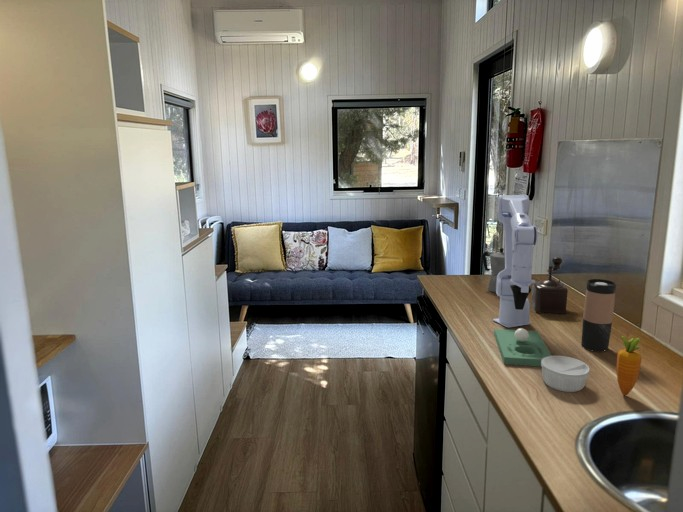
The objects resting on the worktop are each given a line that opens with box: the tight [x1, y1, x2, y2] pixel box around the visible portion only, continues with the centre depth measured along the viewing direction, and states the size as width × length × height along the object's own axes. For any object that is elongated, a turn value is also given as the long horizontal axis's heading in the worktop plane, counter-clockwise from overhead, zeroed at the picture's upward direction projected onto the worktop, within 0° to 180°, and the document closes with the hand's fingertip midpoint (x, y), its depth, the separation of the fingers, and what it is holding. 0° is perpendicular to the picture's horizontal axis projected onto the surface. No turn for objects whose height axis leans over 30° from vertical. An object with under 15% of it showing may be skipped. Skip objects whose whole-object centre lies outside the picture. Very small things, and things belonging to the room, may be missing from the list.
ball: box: [514, 327, 529, 342], centre depth 146 cm, size 4×4×4 cm
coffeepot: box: [481, 247, 505, 294], centre depth 204 cm, size 15×9×18 cm, turn 44°
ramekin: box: [540, 355, 591, 393], centre depth 124 cm, size 11×11×5 cm
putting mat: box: [493, 328, 553, 367], centre depth 145 cm, size 22×13×2 cm, turn 170°
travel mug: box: [581, 278, 617, 352], centre depth 144 cm, size 8×8×20 cm
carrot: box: [615, 335, 642, 396], centre depth 116 cm, size 5×5×15 cm
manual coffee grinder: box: [530, 256, 569, 315], centre depth 181 cm, size 16×11×18 cm
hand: (518, 308), depth 151 cm, fingers closed
